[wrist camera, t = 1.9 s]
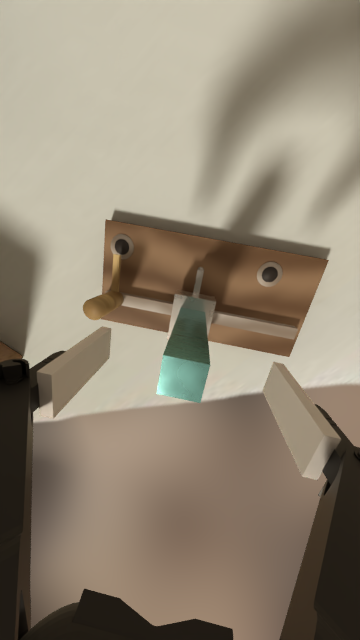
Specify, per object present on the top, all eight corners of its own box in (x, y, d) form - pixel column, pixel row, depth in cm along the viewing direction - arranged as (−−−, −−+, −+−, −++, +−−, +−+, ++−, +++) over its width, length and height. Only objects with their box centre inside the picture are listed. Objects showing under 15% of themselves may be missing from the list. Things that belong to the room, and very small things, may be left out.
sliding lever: (182, 263, 26) (158, 273, 11) (219, 270, 26) (248, 290, 11) (171, 328, 29) (140, 407, 14) (204, 334, 29) (209, 423, 14)
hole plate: (110, 221, 27) (71, 206, 19) (321, 259, 26) (378, 261, 18) (105, 316, 31) (72, 337, 23) (285, 352, 30) (316, 387, 22)
